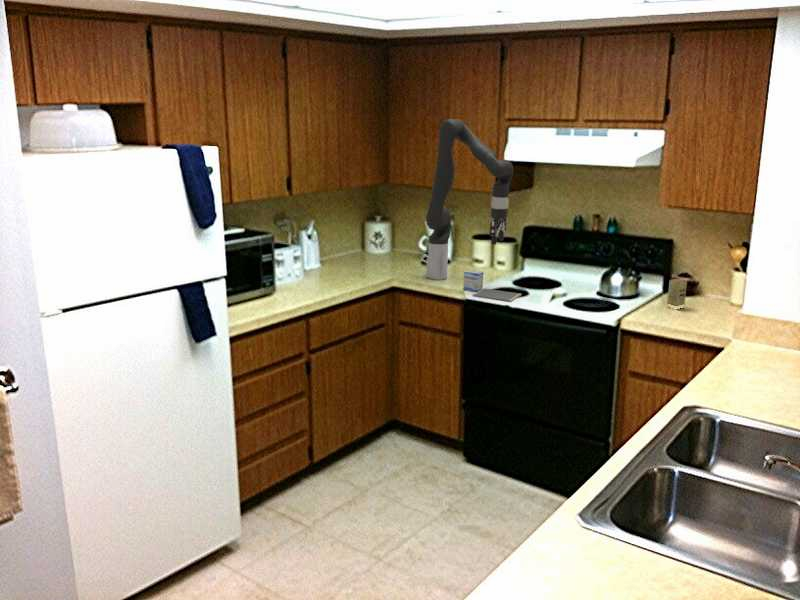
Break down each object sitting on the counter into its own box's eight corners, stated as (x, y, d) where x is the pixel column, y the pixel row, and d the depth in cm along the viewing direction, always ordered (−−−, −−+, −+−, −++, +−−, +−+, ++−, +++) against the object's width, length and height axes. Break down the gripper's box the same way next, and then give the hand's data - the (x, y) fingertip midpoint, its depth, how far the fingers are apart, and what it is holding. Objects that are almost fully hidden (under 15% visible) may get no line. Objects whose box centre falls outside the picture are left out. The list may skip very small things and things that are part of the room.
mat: (472, 296, 334) (472, 294, 334) (484, 289, 345) (484, 288, 345) (510, 302, 325) (510, 300, 325) (521, 295, 336) (521, 293, 336)
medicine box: (462, 290, 344) (463, 271, 341) (466, 288, 347) (467, 269, 345) (479, 292, 340) (479, 273, 338) (482, 290, 344) (483, 271, 341)
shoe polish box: (666, 307, 320) (669, 279, 317) (674, 305, 323) (677, 278, 320) (676, 310, 317) (679, 282, 313) (683, 308, 319) (687, 280, 316)
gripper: (497, 203, 341) (495, 238, 346) (485, 208, 329) (483, 244, 334) (513, 205, 338) (510, 240, 343) (501, 209, 326) (499, 246, 331)
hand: (497, 242), depth 338 cm, fingers open, 8 cm apart
